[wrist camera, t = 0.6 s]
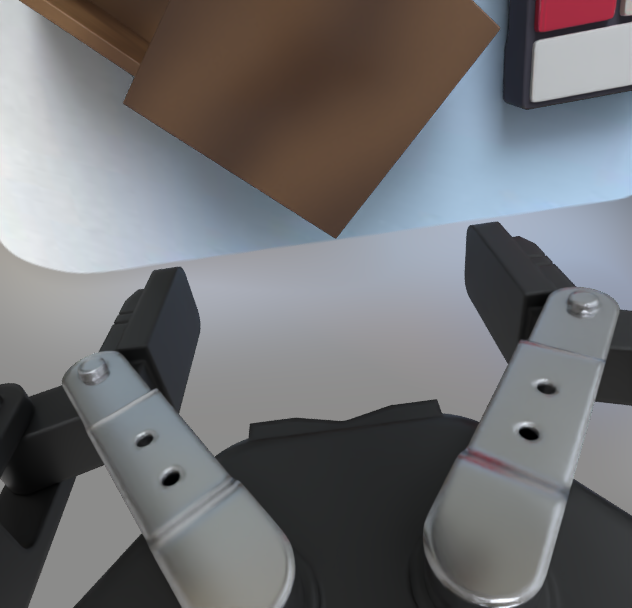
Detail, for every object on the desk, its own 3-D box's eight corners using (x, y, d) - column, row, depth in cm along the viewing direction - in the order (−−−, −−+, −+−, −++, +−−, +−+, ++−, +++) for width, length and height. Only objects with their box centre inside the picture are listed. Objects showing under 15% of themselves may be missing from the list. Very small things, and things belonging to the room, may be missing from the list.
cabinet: (160, 79, 33) (122, 103, 26) (270, -150, 27) (262, -206, 19) (326, 191, 38) (335, 239, 31) (451, 20, 32) (501, 28, 24)
